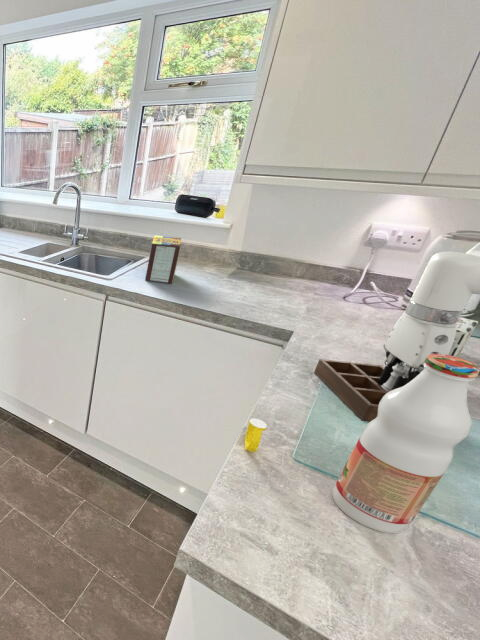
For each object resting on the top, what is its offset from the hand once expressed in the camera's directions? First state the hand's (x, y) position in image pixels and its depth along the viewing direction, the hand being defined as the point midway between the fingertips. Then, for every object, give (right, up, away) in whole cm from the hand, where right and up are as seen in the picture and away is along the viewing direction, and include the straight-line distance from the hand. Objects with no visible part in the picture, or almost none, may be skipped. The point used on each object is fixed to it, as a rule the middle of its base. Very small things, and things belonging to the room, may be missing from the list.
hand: (393, 386), depth 93 cm
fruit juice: (-31, -16, -25) cm, 43 cm away
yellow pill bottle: (-41, -10, -12) cm, 44 cm away
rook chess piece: (0, -3, +1) cm, 3 cm away
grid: (-3, -3, +2) cm, 5 cm away
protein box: (-16, +33, +80) cm, 88 cm away
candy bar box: (+16, -1, +9) cm, 18 cm away
